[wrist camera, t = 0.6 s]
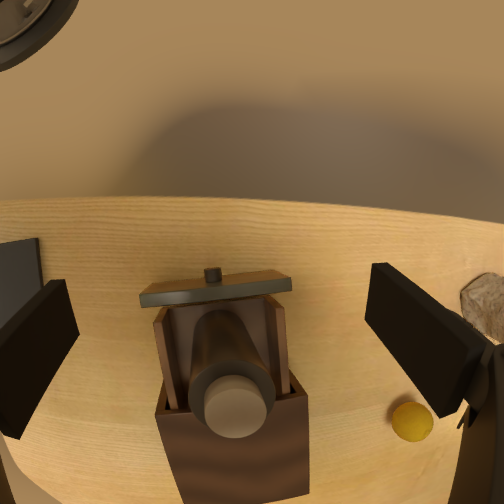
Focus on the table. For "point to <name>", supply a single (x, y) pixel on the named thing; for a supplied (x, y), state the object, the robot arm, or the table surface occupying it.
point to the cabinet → (239, 454)
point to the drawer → (218, 288)
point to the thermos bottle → (228, 377)
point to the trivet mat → (18, 275)
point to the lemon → (412, 421)
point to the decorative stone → (485, 305)
